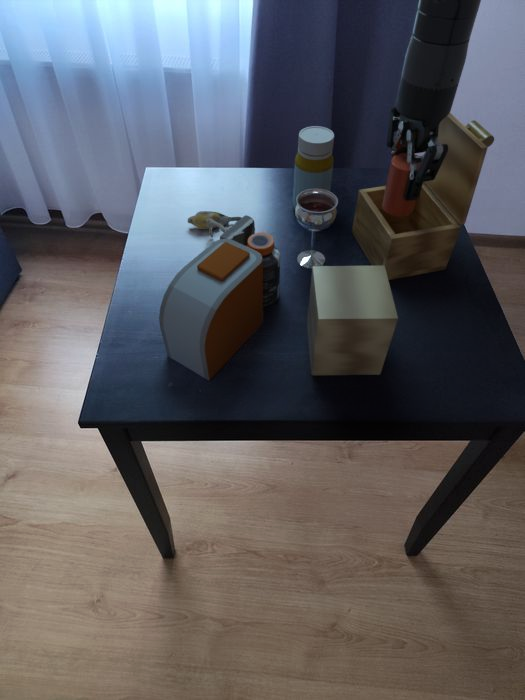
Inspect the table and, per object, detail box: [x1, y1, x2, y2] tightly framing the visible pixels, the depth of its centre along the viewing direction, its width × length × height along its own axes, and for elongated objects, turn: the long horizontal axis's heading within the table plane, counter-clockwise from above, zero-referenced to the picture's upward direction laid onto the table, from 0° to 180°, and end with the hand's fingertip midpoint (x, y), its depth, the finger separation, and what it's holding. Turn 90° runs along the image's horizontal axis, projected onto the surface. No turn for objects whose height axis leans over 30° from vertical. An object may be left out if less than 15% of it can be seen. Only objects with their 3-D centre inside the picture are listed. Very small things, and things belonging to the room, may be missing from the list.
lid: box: [424, 112, 495, 226], centre depth 75 cm, size 13×14×5 cm
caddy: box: [351, 182, 462, 281], centre depth 83 cm, size 12×14×9 cm
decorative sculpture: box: [187, 210, 256, 246], centre depth 85 cm, size 16×10×7 cm, turn 31°
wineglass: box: [294, 189, 339, 269], centre depth 80 cm, size 7×7×12 cm
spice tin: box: [382, 153, 422, 216], centre depth 75 cm, size 5×5×8 cm
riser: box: [306, 265, 399, 376], centre depth 67 cm, size 10×10×12 cm
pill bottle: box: [247, 232, 281, 307], centre depth 75 cm, size 6×6×11 cm
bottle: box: [292, 125, 335, 211], centre depth 89 cm, size 7×7×15 cm
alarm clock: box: [158, 238, 264, 381], centre depth 68 cm, size 15×8×14 cm, turn 145°
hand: (402, 188), depth 76 cm, fingers closed on spice tin, 5 cm apart
